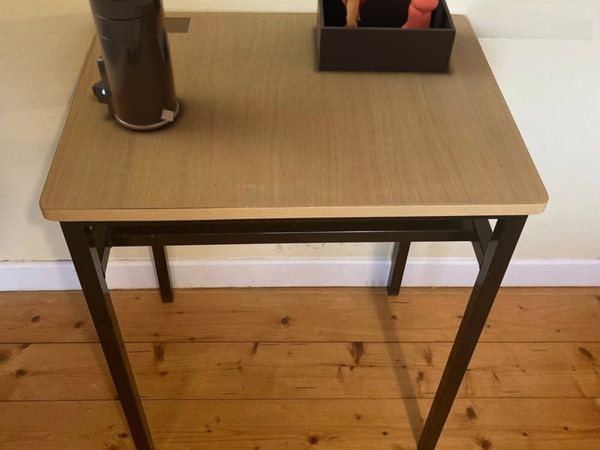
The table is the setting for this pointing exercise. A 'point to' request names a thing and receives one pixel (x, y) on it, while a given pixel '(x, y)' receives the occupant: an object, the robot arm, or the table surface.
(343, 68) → the bin
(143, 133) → the table surface
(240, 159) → the table surface
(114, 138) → the table surface
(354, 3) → the action figure
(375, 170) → the table surface
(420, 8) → the pink tall rounded piece
